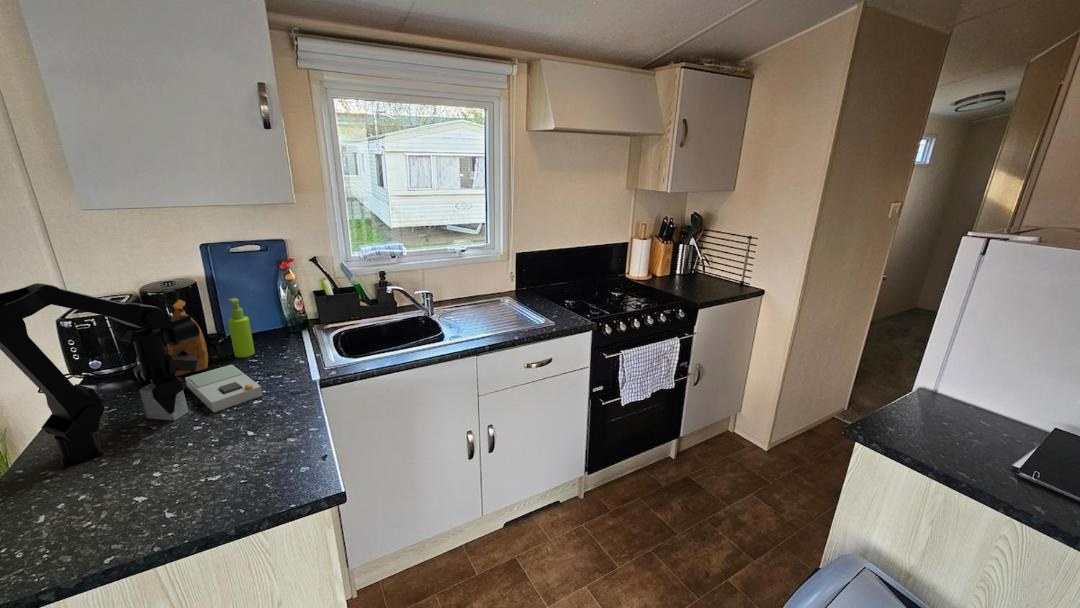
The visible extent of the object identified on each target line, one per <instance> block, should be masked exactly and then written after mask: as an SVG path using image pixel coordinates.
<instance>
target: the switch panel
mask: <svg viewBox="0 0 1080 608" xmlns="http://www.w3.org/2000/svg"><path fill="white" fill-rule="evenodd" d="M233 382H236V383H237V384H239V385H240V386H241V389H239V390H236V391H233V392H230V393H227V394H224V395H223V394H222V393H221V392H220V389H219V387H220V386H224V385H227V384H230V383H233ZM185 383H186V387H187V388H188V389H189V390H190V391H191V392H192V393H193V394H194V395H195V396H196V397H197V398H198V399H200V401H201V402H202V403H203V404H204V405H205V406H206V407H207V408H208V409H209V410H210V411H212V412H213V413H216V412H220V411H222V410H224V409H228V408H231V407H233V406H237V405H239V404H243V403H245V402H249V401H252V400H253V399H257V398H259V397H262V396H263V392H262V386H261V385H260V384H258V383H257V382H256V381H254V380H253V379H252V378H251V377H249V376H248V375H246V374H245V373H244V372H243V371H241V370H240V369H238V368H237V367H236V366H235V365H233V364H228V365H225V366H221V367H219V368H214V369H211V370H207V371H205V372H201V373H197V374H193V375H190V376H187V377H185Z"/></svg>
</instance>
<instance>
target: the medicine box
mask: <svg viewBox="0 0 1080 608" xmlns="http://www.w3.org/2000/svg"><path fill="white" fill-rule="evenodd" d="M149 385H150V384H149ZM149 385H147V386H145V387H144V386H143V387H141V388H140V389H139V393H140V397H141V401H142V404H143V408H144V412H145V415H146V418H147V419H151V420H163V421H164V420H165V421H176V420H178V419H180V418H181V417H183V416H184V415H186V414H188V413H189V412H190V411H189V408H188V403H187V400H186V395H185V393H184V390H182V391H181V392H179V393H178V394H177V395H176V401H175V409H174V413H171V414H168V413H167V412H166V411H165V410H164V409H163V407H162V406H161V405H160V404H159V403H158V402H157V401H156V400H155V399H154V398H153V397H152V396H151V394H150V391H149V388H148V386H149Z"/></svg>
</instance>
